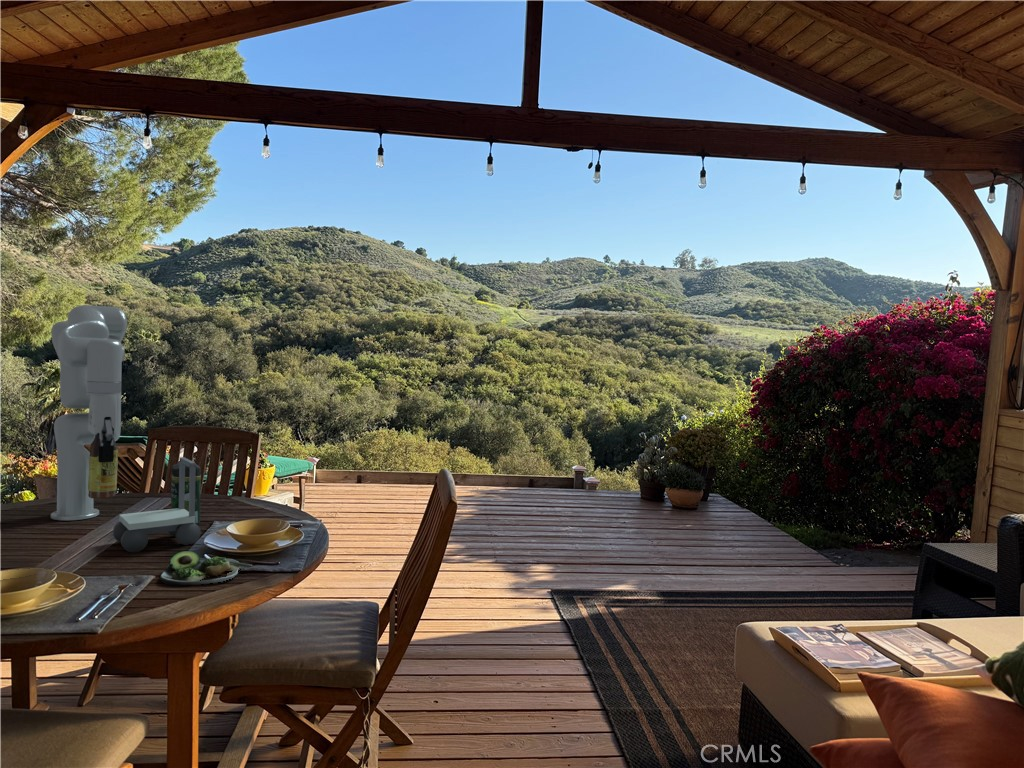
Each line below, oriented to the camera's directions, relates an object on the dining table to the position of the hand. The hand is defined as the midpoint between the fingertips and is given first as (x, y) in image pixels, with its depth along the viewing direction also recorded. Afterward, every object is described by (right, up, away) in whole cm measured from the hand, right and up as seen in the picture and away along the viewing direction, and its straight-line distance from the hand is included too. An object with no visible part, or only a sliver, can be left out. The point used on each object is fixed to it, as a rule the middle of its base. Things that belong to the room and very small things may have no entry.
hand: (103, 459), depth 175 cm
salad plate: (+29, -27, -9) cm, 40 cm away
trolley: (+6, -24, +14) cm, 29 cm away
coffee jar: (+4, -23, +35) cm, 42 cm away
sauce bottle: (0, -10, 0) cm, 10 cm away
